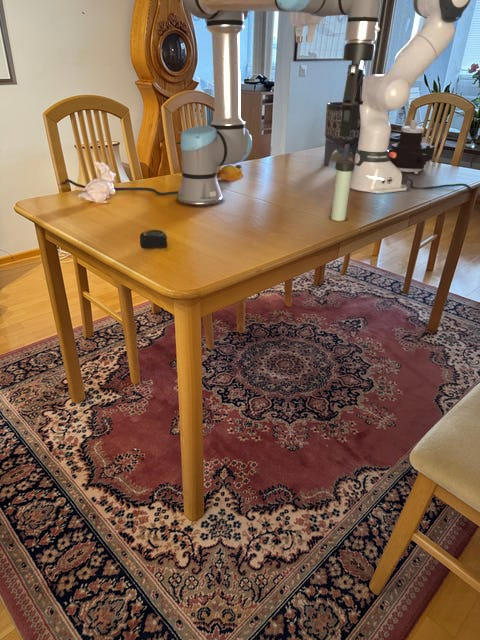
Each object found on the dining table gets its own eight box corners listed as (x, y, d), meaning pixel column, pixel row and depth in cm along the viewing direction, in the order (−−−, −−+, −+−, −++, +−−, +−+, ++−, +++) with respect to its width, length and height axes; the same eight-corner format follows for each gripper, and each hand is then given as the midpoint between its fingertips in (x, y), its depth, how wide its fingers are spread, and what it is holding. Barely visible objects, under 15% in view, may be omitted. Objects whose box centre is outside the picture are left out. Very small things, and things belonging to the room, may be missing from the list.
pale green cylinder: (329, 216, 145) (335, 161, 136) (343, 216, 145) (350, 161, 136) (332, 220, 141) (339, 164, 132) (347, 220, 141) (355, 164, 132)
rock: (349, 149, 251) (351, 136, 248) (362, 151, 245) (364, 138, 242) (334, 151, 243) (336, 138, 240) (347, 154, 238) (349, 141, 234)
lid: (333, 167, 137) (333, 159, 136) (351, 167, 138) (352, 159, 137) (337, 171, 133) (338, 163, 131) (356, 171, 133) (357, 163, 132)
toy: (211, 173, 177) (218, 164, 190) (217, 189, 180) (223, 179, 193) (237, 164, 174) (242, 156, 187) (243, 180, 177) (247, 171, 189)
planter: (313, 167, 208) (319, 103, 195) (331, 160, 222) (338, 101, 209) (353, 173, 199) (362, 107, 185) (369, 166, 213) (379, 104, 199)
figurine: (124, 198, 157) (120, 160, 151) (89, 208, 146) (83, 167, 140) (108, 194, 161) (103, 157, 155) (73, 204, 150) (67, 164, 144)
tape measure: (140, 252, 115) (139, 238, 113) (141, 242, 120) (140, 229, 119) (167, 251, 116) (166, 237, 114) (167, 241, 121) (166, 228, 120)
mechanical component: (380, 119, 194) (409, 114, 214) (372, 170, 205) (400, 161, 225) (430, 124, 182) (455, 119, 202) (419, 178, 193) (444, 167, 213)
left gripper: (370, 41, 103) (356, 140, 113) (379, 44, 123) (367, 128, 134) (337, 40, 105) (326, 138, 115) (351, 44, 125) (341, 126, 136)
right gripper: (331, -14, 132) (325, 41, 139) (306, -6, 149) (302, 43, 156) (310, -15, 131) (306, 41, 138) (287, -7, 148) (284, 42, 155)
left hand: (348, 133), depth 125 cm, fingers open, 13 cm apart
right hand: (304, 42), depth 147 cm, fingers open, 8 cm apart
